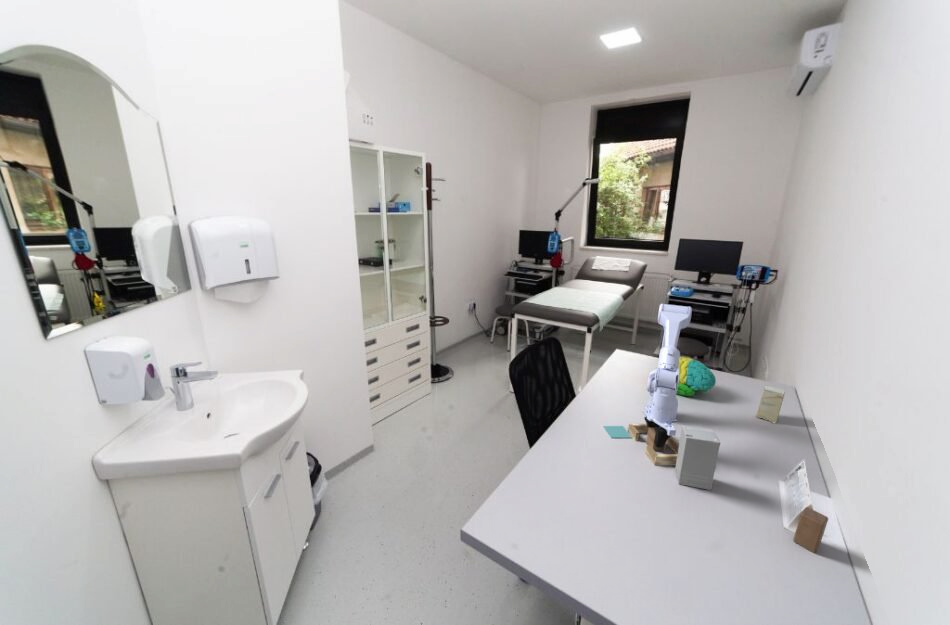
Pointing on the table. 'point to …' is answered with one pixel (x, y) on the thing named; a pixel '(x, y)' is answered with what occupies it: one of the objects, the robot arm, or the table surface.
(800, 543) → the wooden block
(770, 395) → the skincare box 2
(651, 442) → the walnut block
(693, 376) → the brain model
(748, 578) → the table surface
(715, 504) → the table surface
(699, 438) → the skincare box
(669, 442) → the open wooden frame
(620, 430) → the mat
